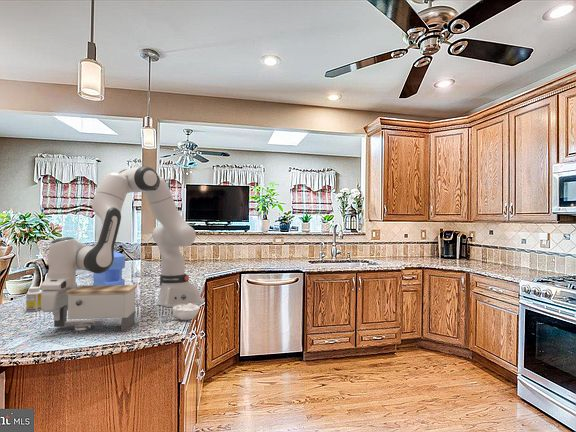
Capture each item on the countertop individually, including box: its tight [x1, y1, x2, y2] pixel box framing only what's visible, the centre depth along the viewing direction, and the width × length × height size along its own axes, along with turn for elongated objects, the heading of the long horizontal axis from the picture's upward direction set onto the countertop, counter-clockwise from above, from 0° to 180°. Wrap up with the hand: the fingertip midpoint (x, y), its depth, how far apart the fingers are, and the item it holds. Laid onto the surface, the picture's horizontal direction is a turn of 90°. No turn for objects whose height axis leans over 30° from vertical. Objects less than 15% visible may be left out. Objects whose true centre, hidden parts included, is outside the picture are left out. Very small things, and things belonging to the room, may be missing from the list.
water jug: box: [92, 250, 126, 286], centre depth 192 cm, size 16×16×28 cm
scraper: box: [53, 306, 103, 328], centre depth 130 cm, size 16×3×7 cm, turn 103°
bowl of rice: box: [172, 303, 201, 321], centre depth 143 cm, size 10×12×7 cm
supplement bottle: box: [25, 286, 42, 313], centre depth 154 cm, size 6×6×10 cm
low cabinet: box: [66, 284, 138, 332], centre depth 129 cm, size 21×12×15 cm, turn 99°
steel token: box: [74, 324, 91, 333], centre depth 127 cm, size 5×5×2 cm
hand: (60, 318), depth 129 cm, fingers closed on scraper, 3 cm apart
